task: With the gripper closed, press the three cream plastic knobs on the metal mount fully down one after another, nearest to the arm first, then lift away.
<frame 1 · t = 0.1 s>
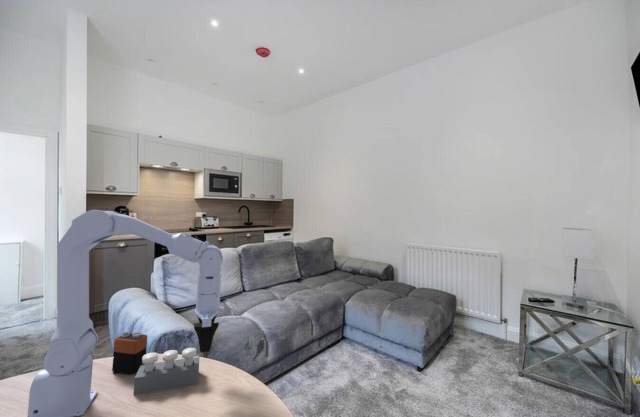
hand: (205, 344, 70), 10 cm above the table, tool pointing down, fingers open, 7 cm apart
mount: (168, 382, 69), on the table
knob near: (149, 366, 68), point 5 cm above the table, slide at 0.0 cm
battery: (128, 370, 74), on the table
knob middle: (169, 363, 69), point 5 cm above the table, slide at 0.0 cm
knob far: (188, 360, 71), point 5 cm above the table, slide at 0.0 cm
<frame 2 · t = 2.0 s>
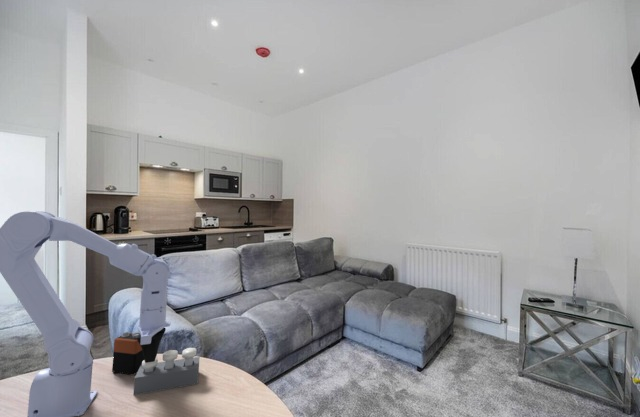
hand: (150, 360, 68), 6 cm above the table, tool pointing down, fingers closed, pressing on knob near
knob near: (149, 371, 68), point 4 cm above the table, slide at 1.2 cm, touching gripper
everything else where it was.
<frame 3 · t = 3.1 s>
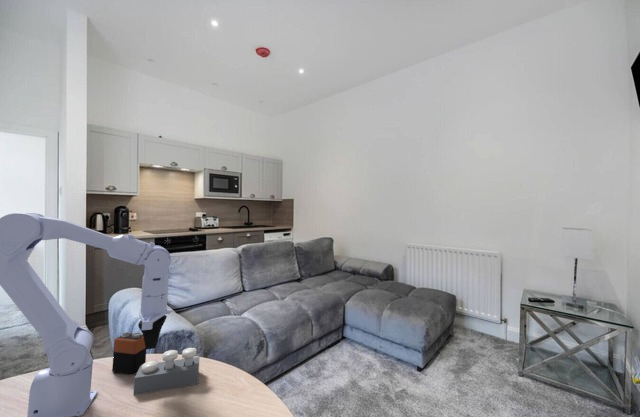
hand: (151, 347, 68), 9 cm above the table, tool pointing down, fingers closed
knob near: (149, 374, 68), point 3 cm above the table, slide at 2.1 cm
everything else where it was.
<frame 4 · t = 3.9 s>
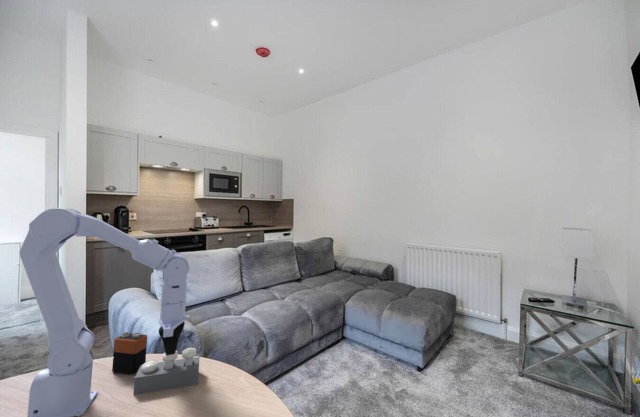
hand: (170, 353, 70), 7 cm above the table, tool pointing down, fingers closed, pressing on knob middle
knob middle: (169, 363, 69), point 5 cm above the table, slide at 0.1 cm, touching gripper
everything else where it was.
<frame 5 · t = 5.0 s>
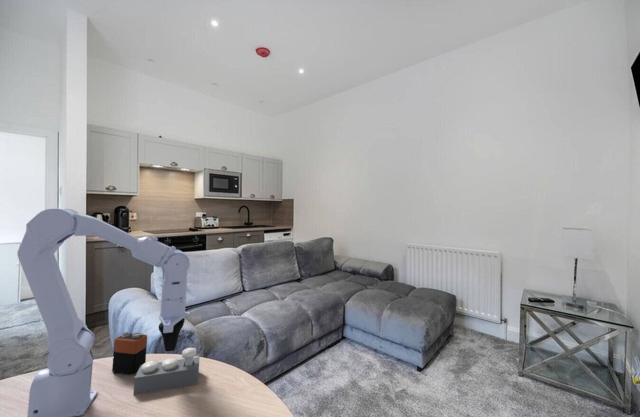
hand: (170, 349, 70), 8 cm above the table, tool pointing down, fingers closed
knob middle: (169, 371, 69), point 3 cm above the table, slide at 2.1 cm
everything else where it was.
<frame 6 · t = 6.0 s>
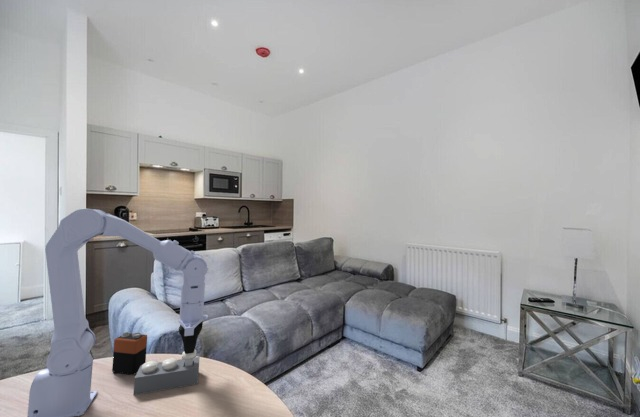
hand: (189, 352, 71), 7 cm above the table, tool pointing down, fingers closed, pressing on knob far
knob far: (188, 362, 71), point 4 cm above the table, slide at 0.4 cm, touching gripper
everything else where it was.
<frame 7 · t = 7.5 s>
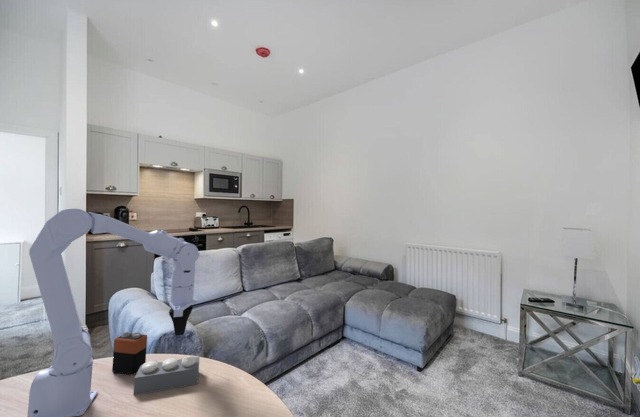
hand: (179, 334, 74), 10 cm above the table, tool pointing down, fingers closed
knob far: (188, 368, 71), point 3 cm above the table, slide at 2.2 cm
everything else where it was.
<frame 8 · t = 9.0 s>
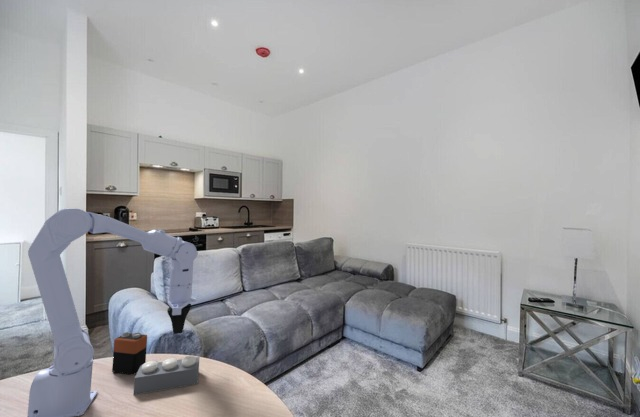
hand: (178, 332, 75), 10 cm above the table, tool pointing down, fingers closed
nothing on the table moved.
at the end: knob near slide at 2.1 cm; knob middle slide at 2.1 cm; knob far slide at 2.2 cm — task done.
